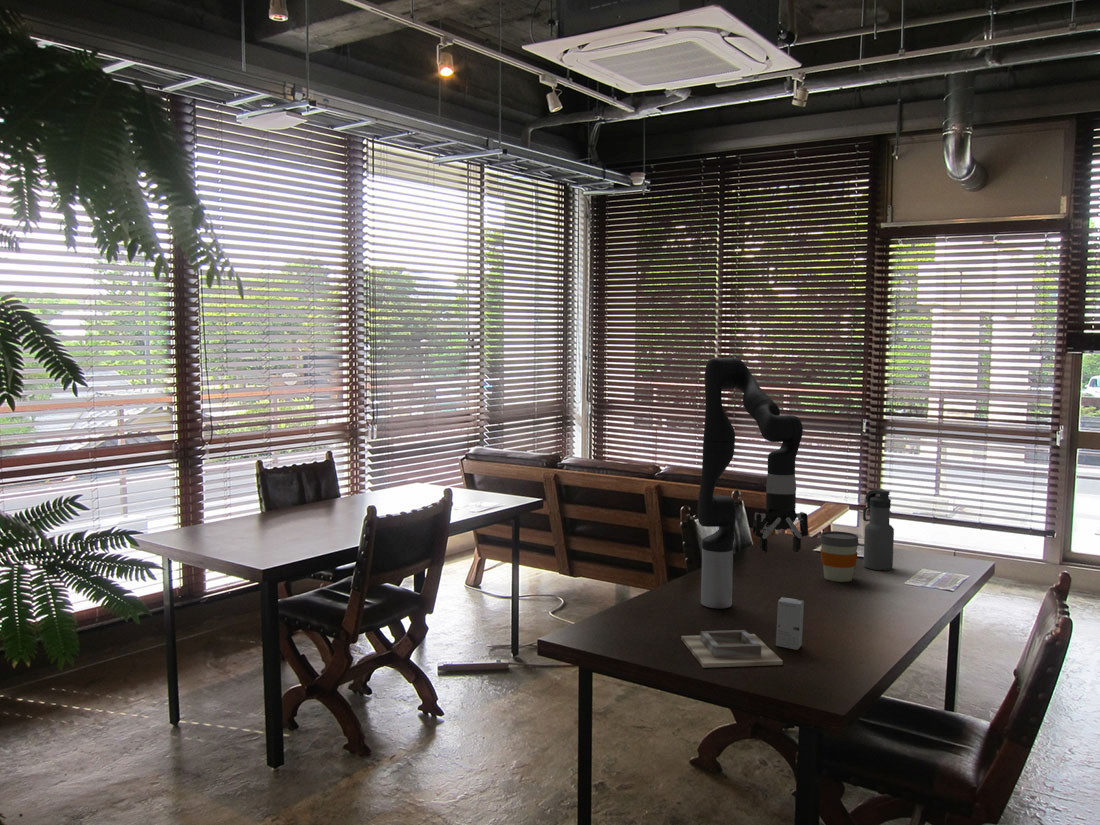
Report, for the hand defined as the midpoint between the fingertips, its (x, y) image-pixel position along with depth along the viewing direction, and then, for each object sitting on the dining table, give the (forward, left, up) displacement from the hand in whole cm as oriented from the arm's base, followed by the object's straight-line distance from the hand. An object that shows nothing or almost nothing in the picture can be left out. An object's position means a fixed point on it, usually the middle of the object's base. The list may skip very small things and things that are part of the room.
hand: (780, 552), depth 221 cm
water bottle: (-72, +66, -24) cm, 100 cm away
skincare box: (+4, +2, -24) cm, 25 cm away
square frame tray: (+7, -15, -24) cm, 29 cm away
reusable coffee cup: (-59, +45, -24) cm, 78 cm away
